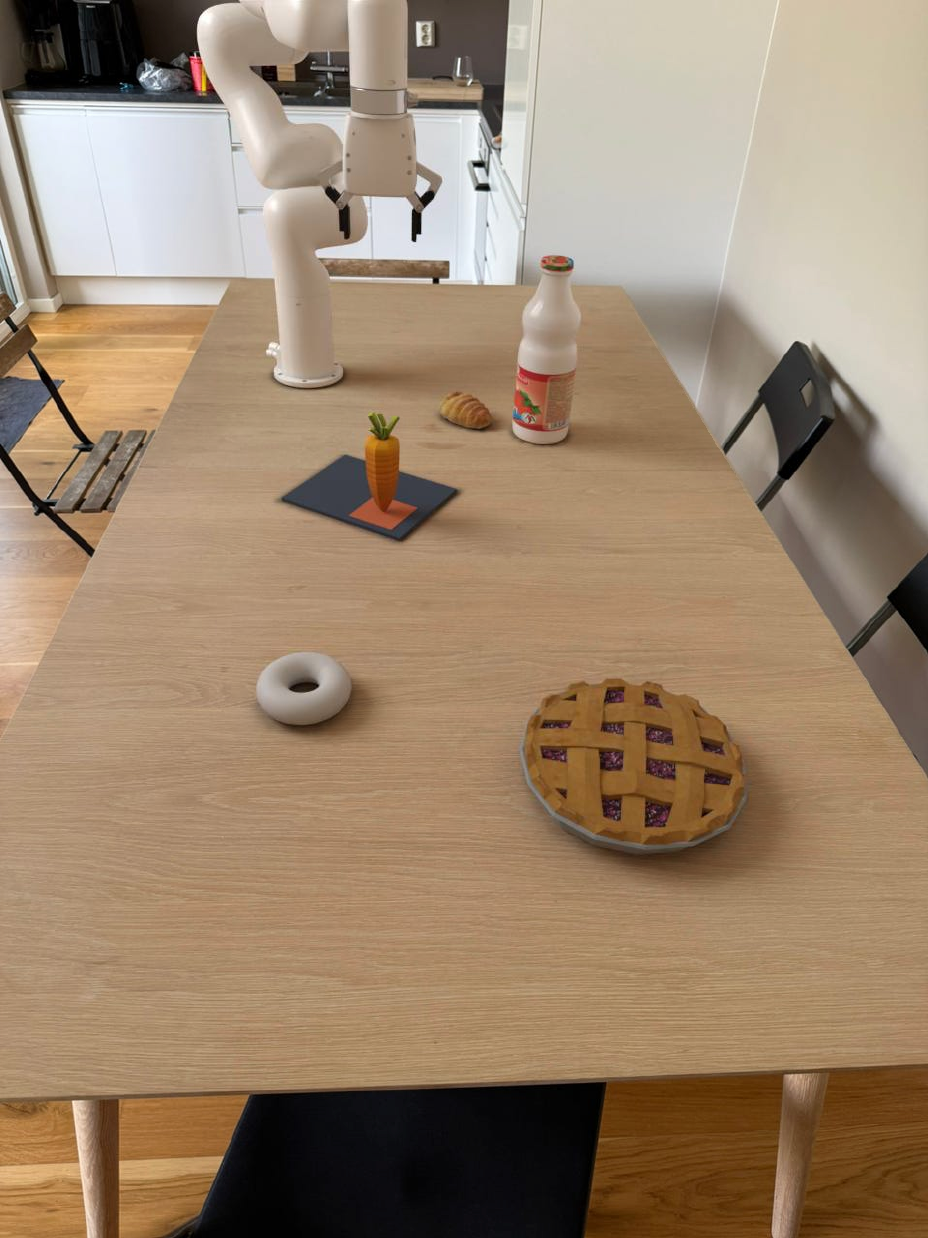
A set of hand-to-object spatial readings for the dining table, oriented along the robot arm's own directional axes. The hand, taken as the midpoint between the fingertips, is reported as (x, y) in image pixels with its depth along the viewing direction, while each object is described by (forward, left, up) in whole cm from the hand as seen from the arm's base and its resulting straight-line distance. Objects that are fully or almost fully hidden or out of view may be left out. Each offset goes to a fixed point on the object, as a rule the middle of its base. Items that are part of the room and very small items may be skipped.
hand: (380, 238), depth 128 cm
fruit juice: (+22, +14, -31) cm, 40 cm away
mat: (+10, -19, -30) cm, 37 cm away
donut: (+28, -59, -31) cm, 72 cm away
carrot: (+14, -22, -30) cm, 40 cm away
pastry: (+9, +12, -31) cm, 34 cm away
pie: (+62, -52, -31) cm, 86 cm away
